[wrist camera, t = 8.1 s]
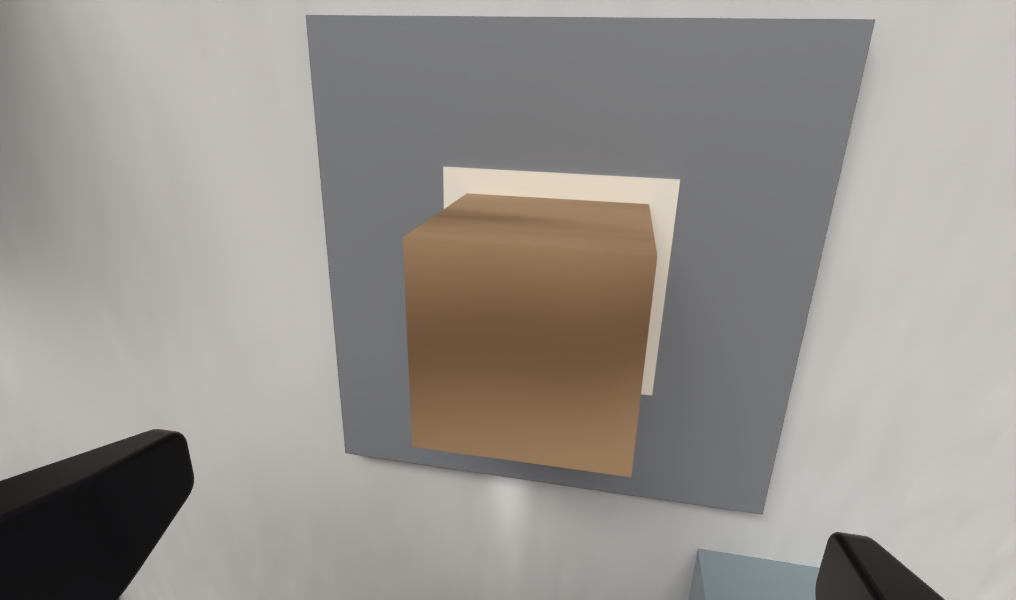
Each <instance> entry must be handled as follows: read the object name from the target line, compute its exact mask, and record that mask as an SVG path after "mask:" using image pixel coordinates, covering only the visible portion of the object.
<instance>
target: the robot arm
mask: <svg viewBox="0 0 1016 600" xmlns="http://www.w3.org/2000/svg"><path fill="white" fill-rule="evenodd" d="M193 484H194V473H193V468H192V464H191V459H190V454H189V449H188V444H187V441H186V438H185V437H184V436H183V434H181V433H179V432H175V431H169V430H162V429H153V430H150V431H147V432H144V433H141V434H138V435H135V436H132V437H129V438H126V439H123V440H120V441H117V442H114V443H111V444H108V445H105V446H102V447H99V448H96V449H93V450H91V451H88V452H85V453H82V454H79V455H76V456H73V457H70V458H67V459H64V460H61V461H58V462H55V463H52V464H49V465H46V466H43V467H40V468H37V469H34V470H31V471H28V472H26V473H23V474H20V475H17V476H14V477H11V478H8V479H5V480H2V481H0V600H118V599H119V597H120V596H121V595H122V593H123V592H124V591H125V589H126V588H127V587H128V585H129V584H130V582H131V581H132V580H133V578H134V577H135V575H136V574H137V572H138V571H139V570H140V568H141V567H142V565H143V564H144V562H145V561H146V559H147V558H148V556H149V555H150V553H151V552H152V550H153V549H154V547H155V546H156V544H157V543H158V541H159V540H160V538H161V537H162V535H163V534H164V532H165V531H166V529H167V528H168V526H169V525H170V523H171V522H172V520H173V519H174V517H175V516H176V514H177V513H178V511H179V510H180V508H181V507H182V505H183V504H184V502H185V501H186V499H187V498H188V496H189V495H190V493H191V491H192V488H193ZM815 597H816V600H945V599H944V598H942V597H941V596H940V595H939V594H938V593H936V592H935V591H934V590H933V589H932V588H930V587H929V586H928V585H927V584H926V583H925V582H923V581H922V580H921V579H920V578H919V577H917V576H916V575H915V574H914V573H913V572H911V571H910V570H909V569H908V568H907V567H905V566H904V565H903V564H902V563H901V562H900V561H898V560H897V559H896V558H895V557H894V556H892V555H891V554H890V553H889V552H888V551H886V550H885V549H884V548H883V547H882V546H880V545H879V544H878V543H877V542H876V541H874V540H873V539H871V538H869V537H867V536H862V535H855V534H848V533H842V532H836V533H833V534H832V535H831V536H830V537H829V539H828V542H827V545H826V549H825V552H824V555H823V559H822V562H821V566H820V569H819V573H818V576H817V580H816V586H815Z"/></svg>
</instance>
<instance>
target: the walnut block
mask: <svg viewBox="0 0 1016 600" xmlns="http://www.w3.org/2000/svg"><path fill="white" fill-rule="evenodd" d="M403 255H404V277H405V300H406V322H407V344H408V367H409V389H410V411H411V434H412V447H418V448H425V449H432V450H440V451H447V452H454V453H461V454H468V455H475V456H483V457H490V458H497V459H504V460H511V461H518V462H526V463H533V464H540V465H547V466H554V467H561V468H569V469H576V470H583V471H590V472H597V473H604V474H612V475H619V476H626V477H631V474H632V465H633V457H634V449H635V440H636V432H637V423H638V415H639V407H640V398H641V390H642V381H643V373H644V365H645V356H646V348H647V339H648V331H649V323H650V314H651V306H652V297H653V289H654V281H655V272H656V264H657V251H656V244H655V238H654V232H653V226H652V219H651V213H650V207H649V204H639V203H622V202H605V201H588V200H571V199H554V198H537V197H520V196H504V195H487V194H470V193H467V194H465V195H464V196H462V197H461V198H459V199H458V200H456V201H455V202H454V203H452V204H451V205H449V206H448V207H446V208H445V209H443V210H442V211H440V212H439V213H438V214H436V215H435V216H433V217H432V218H430V219H429V220H427V221H426V222H424V223H423V224H422V225H420V226H419V227H417V228H416V229H414V230H413V231H411V232H410V233H408V234H407V235H405V236H404V237H403Z"/></svg>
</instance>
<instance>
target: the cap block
mask: <svg viewBox="0 0 1016 600" xmlns="http://www.w3.org/2000/svg"><path fill="white" fill-rule="evenodd" d="M819 569H820V568H817V567H810V566H804V565H798V564H792V563H785V562H779V561H773V560H766V559H760V558H754V557H747V556H741V555H735V554H728V553H722V552H716V551H709V550H703V549H698V552H697V557H696V563H695V569H694V574H693V580H692V585H691V591H690V596H689V600H816V597H815V586H816V580H817V576H818V573H819Z"/></svg>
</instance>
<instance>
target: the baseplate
mask: <svg viewBox="0 0 1016 600" xmlns="http://www.w3.org/2000/svg"><path fill="white" fill-rule="evenodd" d="M874 23H875V20H866V19H735V18H605V17H475V16H344V15H306V24H307V35H308V46H309V57H310V68H311V79H312V90H313V101H314V112H315V123H316V134H317V145H318V156H319V167H320V178H321V189H322V200H323V211H324V222H325V233H326V244H327V255H328V266H329V277H330V288H331V299H332V310H333V321H334V332H335V343H336V354H337V365H338V376H339V387H340V398H341V409H342V420H343V431H344V442H345V453H348V454H355V455H361V456H368V457H375V458H382V459H389V460H395V461H402V462H409V463H416V464H423V465H429V466H436V467H443V468H450V469H457V470H463V471H470V472H477V473H484V474H490V475H497V476H504V477H511V478H518V479H524V480H531V481H538V482H545V483H552V484H558V485H565V486H572V487H579V488H585V489H592V490H599V491H606V492H613V493H619V494H626V495H633V496H640V497H647V498H653V499H660V500H667V501H674V502H680V503H687V504H694V505H701V506H708V507H714V508H721V509H728V510H735V511H742V512H748V513H755V514H763V509H764V505H765V501H766V496H767V492H768V488H769V483H770V479H771V474H772V470H773V466H774V461H775V457H776V452H777V448H778V444H779V439H780V435H781V431H782V426H783V422H784V417H785V413H786V409H787V404H788V400H789V396H790V391H791V387H792V382H793V378H794V374H795V369H796V365H797V360H798V356H799V352H800V347H801V343H802V339H803V334H804V330H805V325H806V321H807V317H808V312H809V308H810V304H811V299H812V295H813V290H814V286H815V282H816V277H817V273H818V268H819V264H820V260H821V255H822V251H823V247H824V242H825V238H826V233H827V229H828V225H829V220H830V216H831V212H832V207H833V203H834V198H835V194H836V190H837V185H838V181H839V176H840V172H841V168H842V163H843V159H844V155H845V150H846V146H847V141H848V137H849V133H850V128H851V124H852V120H853V115H854V111H855V106H856V102H857V98H858V93H859V89H860V84H861V80H862V76H863V71H864V67H865V63H866V58H867V54H868V49H869V45H870V41H871V36H872V32H873V28H874ZM467 193H470V194H487V195H504V196H520V197H537V198H554V199H571V200H588V201H605V202H622V203H639V204H649V207H650V213H651V219H652V226H653V232H654V238H655V244H656V251H657V264H656V272H655V281H654V289H653V297H652V306H651V314H650V323H649V331H648V339H647V348H646V356H645V365H644V373H643V381H642V390H641V398H640V407H639V415H638V423H637V432H636V440H635V449H634V457H633V465H632V474H631V477H626V476H619V475H612V474H604V473H597V472H590V471H583V470H576V469H569V468H561V467H554V466H547V465H540V464H533V463H526V462H518V461H511V460H504V459H497V458H490V457H483V456H475V455H468V454H461V453H454V452H447V451H440V450H432V449H425V448H418V447H412V434H411V411H410V389H409V367H408V344H407V322H406V300H405V277H404V255H403V237H404V236H405V235H407V234H408V233H410V232H411V231H413V230H414V229H416V228H417V227H419V226H420V225H422V224H423V223H424V222H426V221H427V220H429V219H430V218H432V217H433V216H435V215H436V214H438V213H439V212H440V211H442V210H443V209H445V208H446V207H448V206H449V205H451V204H452V203H454V202H455V201H456V200H458V199H459V198H461V197H462V196H464V195H465V194H467Z"/></svg>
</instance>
